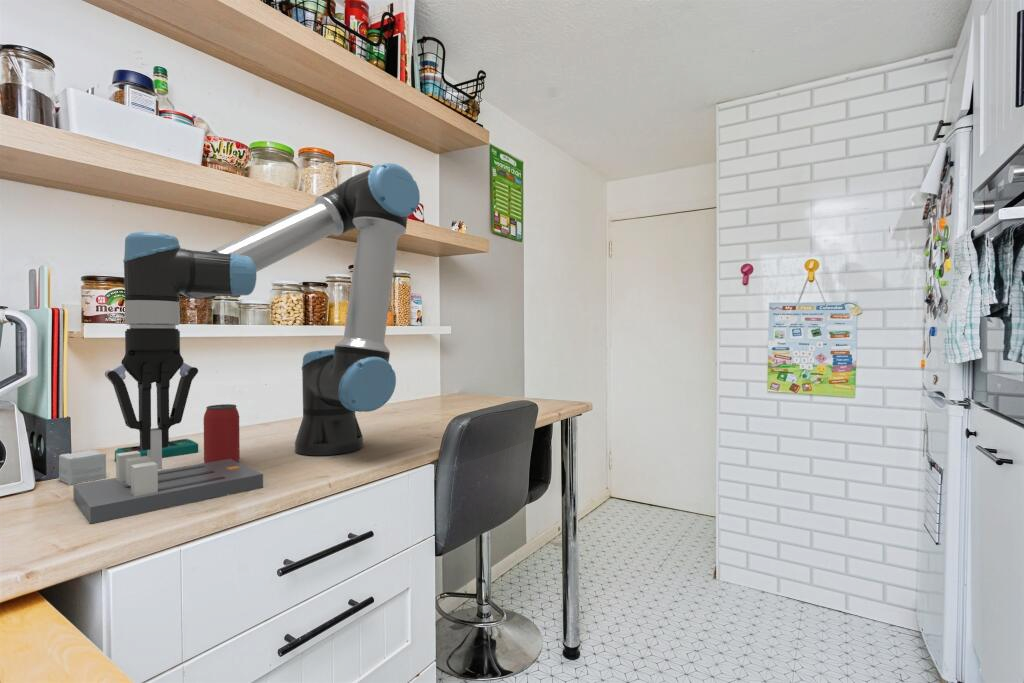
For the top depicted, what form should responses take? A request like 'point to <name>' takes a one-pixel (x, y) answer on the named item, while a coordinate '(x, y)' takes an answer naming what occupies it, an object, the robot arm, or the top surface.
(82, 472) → the small box
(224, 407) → the beer can
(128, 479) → the handle
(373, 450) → the top surface
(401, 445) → the top surface
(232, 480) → the breaker panel
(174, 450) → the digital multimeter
